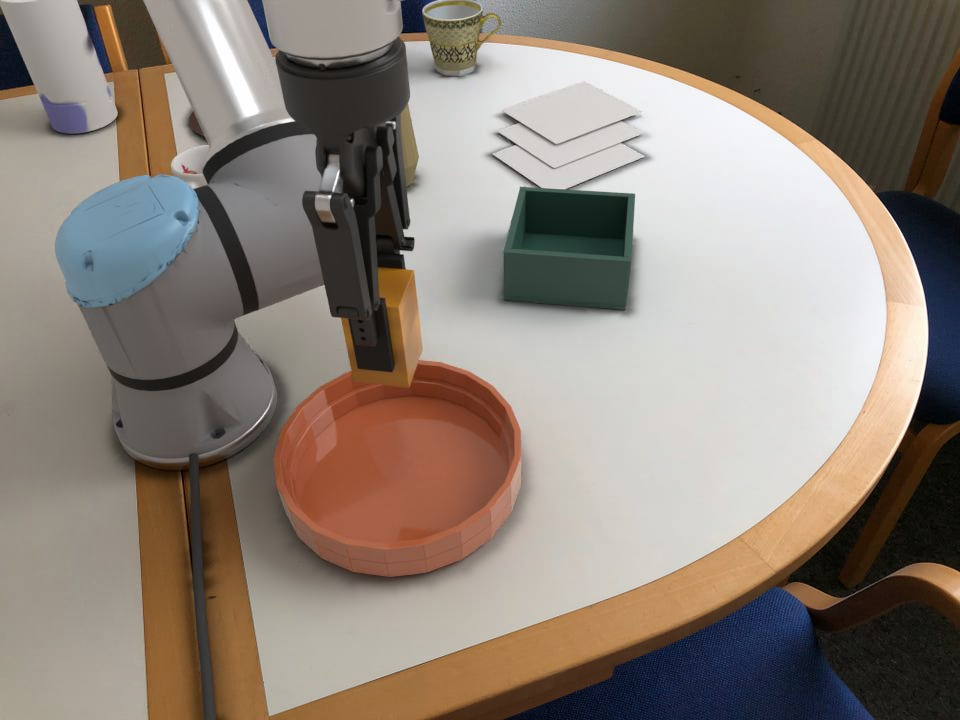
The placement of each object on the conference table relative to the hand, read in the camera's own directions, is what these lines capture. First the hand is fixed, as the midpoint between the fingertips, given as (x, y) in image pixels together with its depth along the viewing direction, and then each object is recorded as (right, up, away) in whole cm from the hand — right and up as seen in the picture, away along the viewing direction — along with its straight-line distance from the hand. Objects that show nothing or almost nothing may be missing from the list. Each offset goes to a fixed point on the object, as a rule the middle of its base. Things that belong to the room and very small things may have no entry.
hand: (385, 343), depth 61 cm
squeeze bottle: (-5, +23, +48) cm, 54 cm away
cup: (-28, +17, +43) cm, 54 cm away
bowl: (0, -12, +10) cm, 16 cm away
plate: (-25, +39, +66) cm, 81 cm away
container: (-56, +37, +66) cm, 94 cm away
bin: (+18, +9, +32) cm, 38 cm away
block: (0, -2, +2) cm, 2 cm away
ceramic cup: (+5, +49, +75) cm, 90 cm away
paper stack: (+21, +32, +56) cm, 68 cm away
